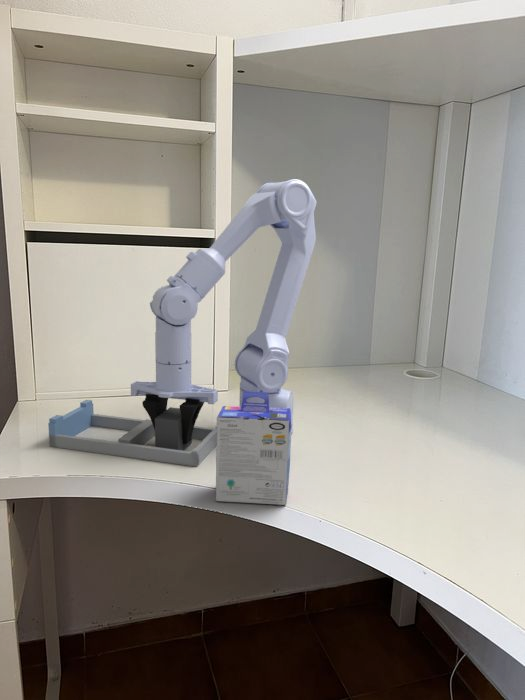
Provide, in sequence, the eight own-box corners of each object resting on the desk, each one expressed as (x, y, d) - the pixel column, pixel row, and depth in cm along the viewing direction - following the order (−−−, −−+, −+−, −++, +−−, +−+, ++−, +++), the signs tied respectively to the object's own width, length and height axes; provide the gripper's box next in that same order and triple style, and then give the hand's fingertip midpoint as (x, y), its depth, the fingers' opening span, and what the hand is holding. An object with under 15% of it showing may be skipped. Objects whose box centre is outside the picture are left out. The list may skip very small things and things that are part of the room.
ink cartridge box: (288, 488, 79) (293, 391, 76) (288, 506, 73) (292, 403, 70) (220, 484, 79) (221, 387, 76) (214, 502, 74) (215, 399, 71)
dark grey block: (192, 443, 94) (192, 409, 93) (178, 456, 88) (178, 421, 87) (170, 440, 95) (170, 407, 94) (155, 453, 89) (154, 418, 88)
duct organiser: (221, 440, 96) (221, 414, 95) (196, 466, 85) (197, 438, 84) (88, 423, 102) (87, 399, 101) (49, 446, 91) (48, 419, 90)
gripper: (120, 362, 86) (122, 443, 89) (207, 370, 83) (206, 454, 86) (141, 353, 93) (142, 428, 96) (222, 360, 90) (221, 438, 93)
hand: (174, 440), depth 91 cm, fingers closed on dark grey block, 4 cm apart
